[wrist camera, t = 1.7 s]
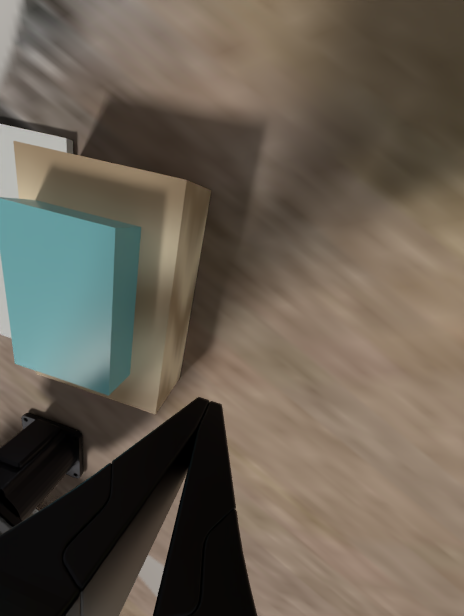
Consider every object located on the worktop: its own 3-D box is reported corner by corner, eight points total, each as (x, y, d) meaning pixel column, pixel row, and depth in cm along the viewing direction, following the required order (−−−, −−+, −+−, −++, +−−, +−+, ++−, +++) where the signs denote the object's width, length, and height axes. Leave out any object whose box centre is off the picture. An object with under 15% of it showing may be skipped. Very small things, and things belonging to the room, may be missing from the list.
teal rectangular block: (129, 374, 15) (108, 395, 13) (46, 347, 16) (15, 363, 14) (141, 227, 12) (115, 228, 10) (35, 199, 13) (-8, 196, 11)
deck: (179, 378, 20) (155, 414, 16) (80, 346, 21) (35, 373, 17) (211, 190, 15) (186, 179, 11) (77, 159, 16) (13, 140, 12)
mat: (77, 355, 21) (72, 358, 21) (-12, 326, 22) (-18, 328, 22) (73, 140, 15) (66, 138, 15) (-48, 114, 16) (-57, 111, 16)
